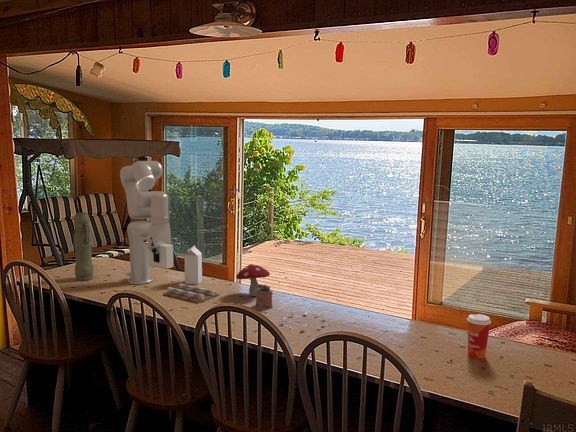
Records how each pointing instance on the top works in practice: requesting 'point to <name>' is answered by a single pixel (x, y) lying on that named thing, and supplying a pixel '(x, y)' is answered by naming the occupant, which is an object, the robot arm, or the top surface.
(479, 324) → the paper cup
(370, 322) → the top surface
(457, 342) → the top surface
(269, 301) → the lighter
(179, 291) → the track board
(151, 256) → the door panel
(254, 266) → the decorative mushroom
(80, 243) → the moai statue
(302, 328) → the game piece set
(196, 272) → the milk carton
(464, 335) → the top surface
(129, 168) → the robot arm
